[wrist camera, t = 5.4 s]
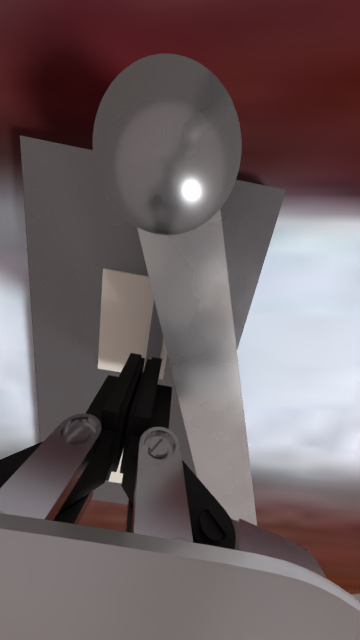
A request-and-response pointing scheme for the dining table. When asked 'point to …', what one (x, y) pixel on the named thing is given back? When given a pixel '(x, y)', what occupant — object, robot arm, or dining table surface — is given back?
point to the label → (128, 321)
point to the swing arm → (184, 244)
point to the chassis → (87, 272)
